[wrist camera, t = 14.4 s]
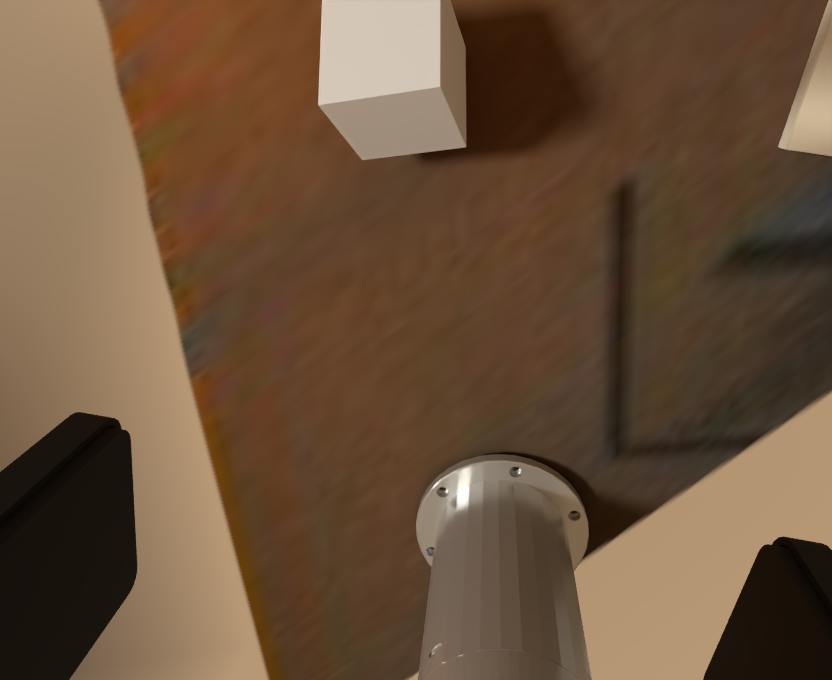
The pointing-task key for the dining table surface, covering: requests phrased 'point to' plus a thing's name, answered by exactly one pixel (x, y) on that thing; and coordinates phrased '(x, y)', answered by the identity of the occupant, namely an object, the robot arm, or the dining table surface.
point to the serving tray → (813, 98)
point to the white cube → (393, 75)
